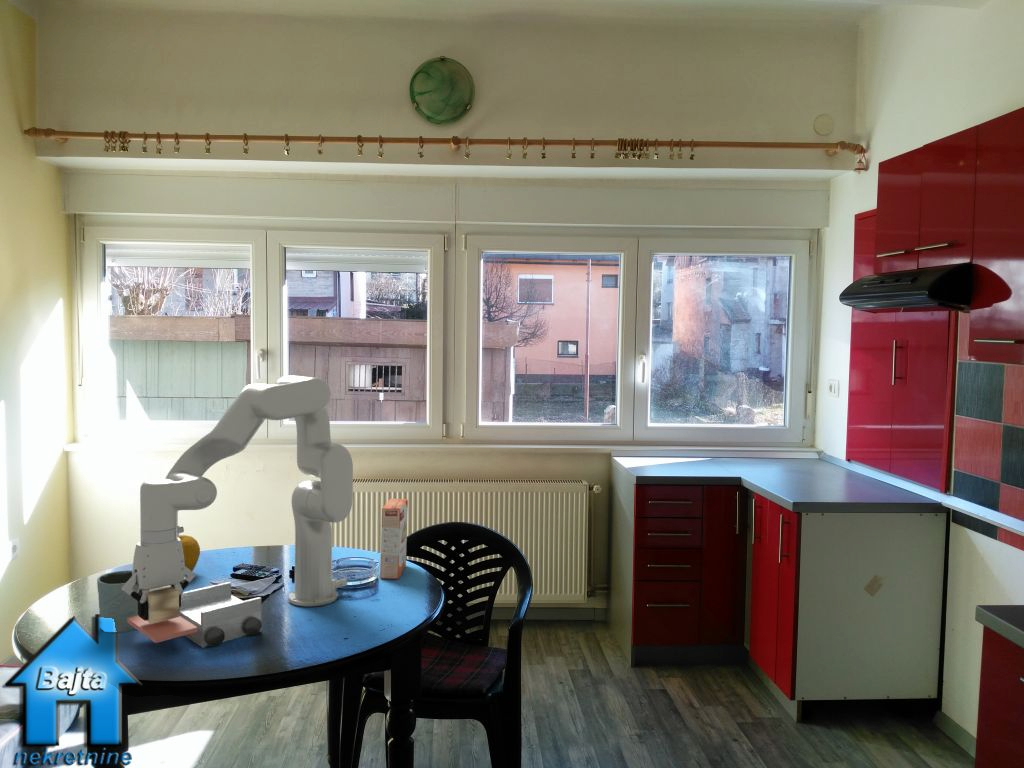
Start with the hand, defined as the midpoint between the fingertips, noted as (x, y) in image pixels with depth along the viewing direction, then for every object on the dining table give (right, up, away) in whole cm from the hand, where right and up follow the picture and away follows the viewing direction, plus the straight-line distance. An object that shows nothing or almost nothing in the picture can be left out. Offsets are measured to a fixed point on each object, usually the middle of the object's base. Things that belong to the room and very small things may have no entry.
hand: (159, 614), depth 169 cm
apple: (-18, -4, +49) cm, 52 cm away
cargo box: (0, -1, 0) cm, 1 cm away
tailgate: (+3, -2, +4) cm, 5 cm away
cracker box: (+43, -5, +57) cm, 72 cm away
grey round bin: (-14, -6, +11) cm, 19 cm away
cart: (+9, -7, +10) cm, 15 cm away
